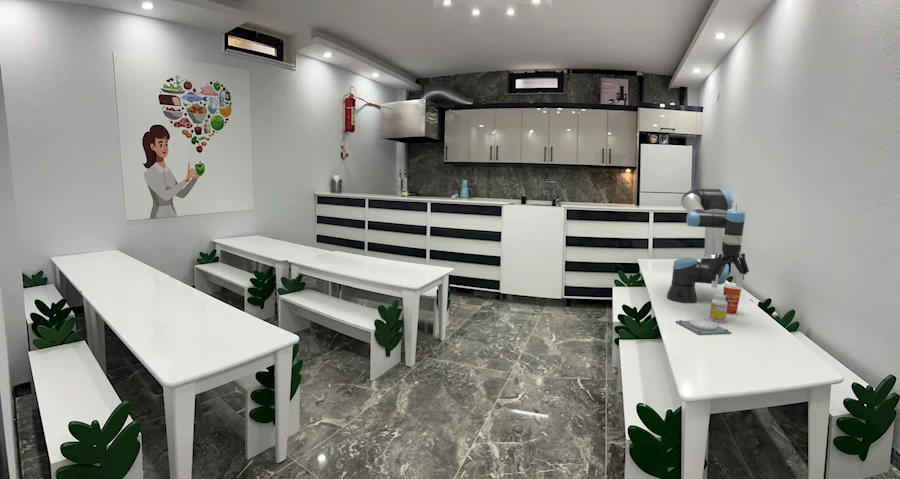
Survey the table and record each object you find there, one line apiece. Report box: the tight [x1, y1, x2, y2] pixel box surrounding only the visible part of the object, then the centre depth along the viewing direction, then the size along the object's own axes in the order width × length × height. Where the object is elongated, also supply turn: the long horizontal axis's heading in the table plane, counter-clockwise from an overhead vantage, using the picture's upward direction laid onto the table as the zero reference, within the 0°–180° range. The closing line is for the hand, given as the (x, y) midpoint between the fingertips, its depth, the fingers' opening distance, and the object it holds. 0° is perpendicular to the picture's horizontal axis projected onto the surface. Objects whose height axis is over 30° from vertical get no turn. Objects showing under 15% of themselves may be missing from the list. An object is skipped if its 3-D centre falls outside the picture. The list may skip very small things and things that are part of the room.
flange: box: [675, 318, 732, 336], centre depth 203 cm, size 16×16×2 cm
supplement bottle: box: [709, 293, 728, 323], centre depth 213 cm, size 7×7×13 cm
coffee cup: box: [722, 282, 743, 315], centre depth 226 cm, size 8×8×15 cm
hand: (726, 287), depth 211 cm, fingers open, 13 cm apart
